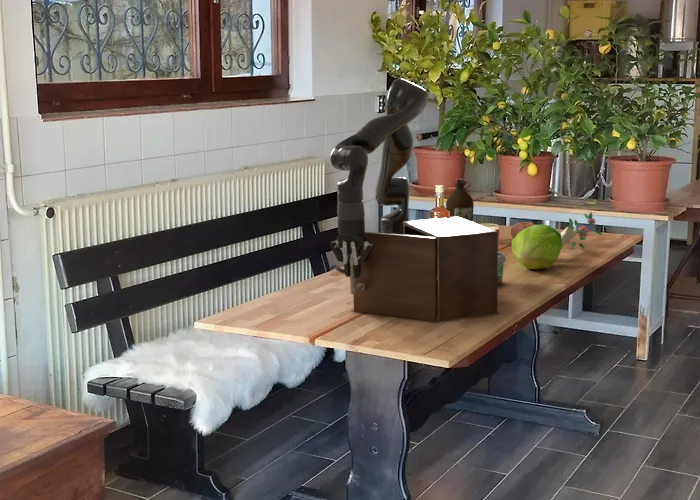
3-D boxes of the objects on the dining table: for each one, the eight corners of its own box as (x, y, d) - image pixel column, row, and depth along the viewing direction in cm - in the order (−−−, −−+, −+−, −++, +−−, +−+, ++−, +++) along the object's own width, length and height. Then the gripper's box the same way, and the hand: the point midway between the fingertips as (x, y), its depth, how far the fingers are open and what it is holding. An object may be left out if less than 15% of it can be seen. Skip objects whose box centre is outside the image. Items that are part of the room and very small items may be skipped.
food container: (504, 289, 292) (505, 258, 290) (484, 289, 294) (485, 258, 292) (506, 280, 304) (506, 250, 302) (487, 279, 305) (487, 249, 303)
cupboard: (439, 321, 261) (438, 236, 256) (404, 298, 285) (403, 221, 280) (497, 313, 266) (497, 231, 261) (458, 292, 291) (458, 216, 286)
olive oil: (442, 241, 368) (442, 178, 363) (468, 239, 370) (467, 176, 365) (451, 246, 358) (451, 181, 353) (477, 244, 360) (477, 180, 355)
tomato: (541, 244, 357) (541, 223, 356) (512, 245, 358) (513, 224, 356) (536, 238, 368) (536, 218, 366) (508, 239, 368) (508, 219, 366)
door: (426, 327, 255) (425, 242, 250) (343, 316, 268) (341, 235, 263) (437, 320, 261) (436, 237, 256) (356, 309, 274) (354, 230, 269)
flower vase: (541, 279, 334) (577, 240, 360) (572, 273, 326) (607, 234, 352) (530, 249, 332) (567, 213, 358) (560, 243, 324) (596, 206, 350)
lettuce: (503, 278, 316) (496, 235, 313) (530, 261, 331) (524, 219, 328) (548, 279, 306) (542, 234, 302) (573, 261, 321) (568, 218, 317)
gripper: (322, 217, 260) (325, 277, 264) (367, 220, 254) (369, 282, 258) (335, 212, 267) (337, 271, 271) (379, 215, 261) (380, 275, 264)
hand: (352, 276), depth 264 cm, fingers closed on door, 2 cm apart
